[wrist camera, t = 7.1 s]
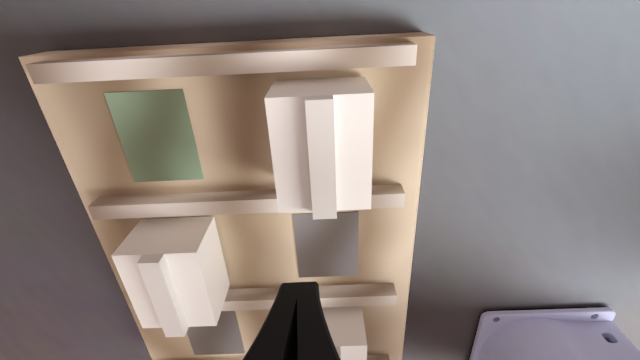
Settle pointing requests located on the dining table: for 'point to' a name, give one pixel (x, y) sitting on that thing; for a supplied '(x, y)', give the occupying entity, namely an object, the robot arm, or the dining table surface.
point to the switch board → (243, 170)
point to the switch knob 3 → (347, 331)
